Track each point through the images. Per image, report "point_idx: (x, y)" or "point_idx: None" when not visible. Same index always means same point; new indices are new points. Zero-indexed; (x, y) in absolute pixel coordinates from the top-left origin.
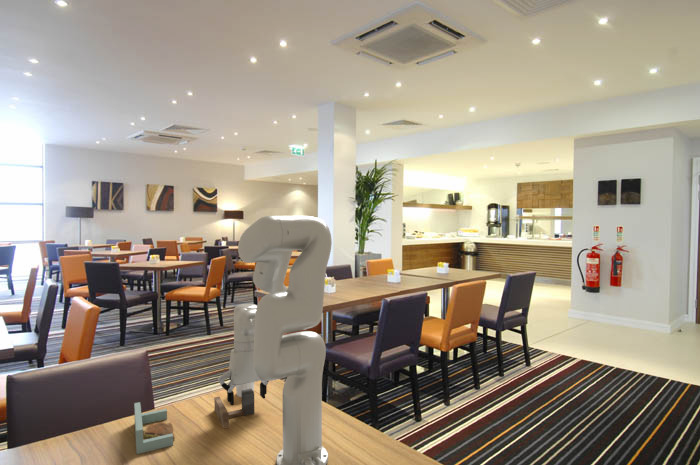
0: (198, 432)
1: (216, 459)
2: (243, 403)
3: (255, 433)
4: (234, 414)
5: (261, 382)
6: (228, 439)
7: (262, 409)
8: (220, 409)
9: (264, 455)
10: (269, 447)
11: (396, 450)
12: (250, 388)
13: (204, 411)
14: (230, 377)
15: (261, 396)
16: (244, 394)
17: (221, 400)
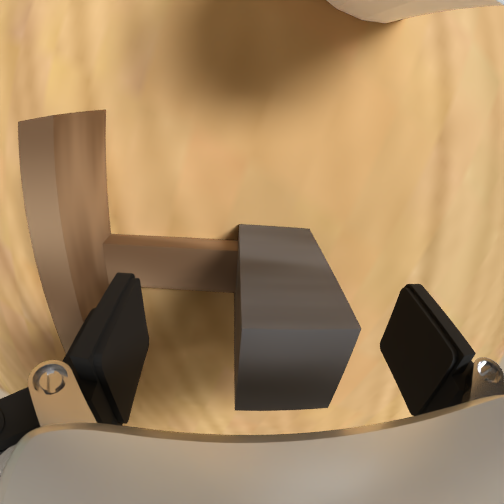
0: (20, 320)
1: None
2: (236, 314)
3: (226, 423)
4: (170, 285)
5: (453, 391)
6: None
7: (360, 270)
8: (65, 348)
9: None
10: None
11: None
12: (417, 15)
13: (26, 107)
14: (24, 452)
15: (391, 320)
16: (235, 409)
17: (60, 220)
